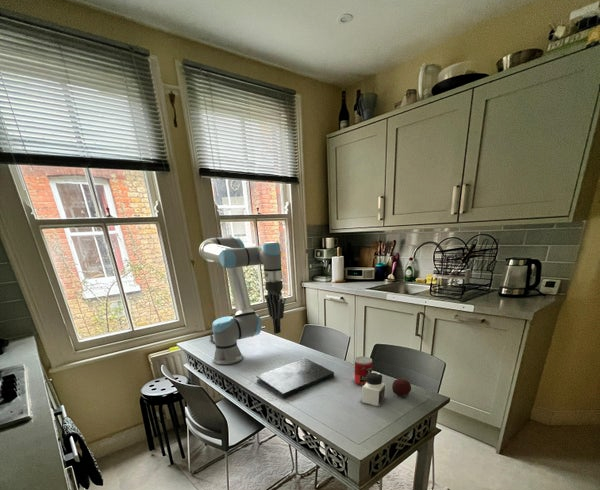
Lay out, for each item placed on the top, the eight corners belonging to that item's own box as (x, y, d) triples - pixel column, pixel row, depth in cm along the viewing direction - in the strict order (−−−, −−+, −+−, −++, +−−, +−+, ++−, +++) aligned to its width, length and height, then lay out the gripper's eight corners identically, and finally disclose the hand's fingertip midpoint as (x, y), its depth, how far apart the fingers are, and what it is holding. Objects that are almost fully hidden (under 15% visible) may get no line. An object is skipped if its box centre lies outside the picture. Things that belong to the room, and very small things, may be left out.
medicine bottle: (378, 406, 124) (380, 379, 120) (361, 402, 128) (362, 375, 123) (384, 398, 130) (386, 372, 125) (367, 394, 133) (369, 369, 129)
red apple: (389, 390, 136) (390, 376, 133) (407, 390, 135) (409, 375, 132) (393, 399, 129) (395, 384, 126) (413, 399, 129) (414, 383, 126)
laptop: (257, 383, 148) (256, 379, 148) (305, 364, 165) (305, 361, 165) (283, 399, 133) (283, 395, 133) (334, 377, 150) (334, 373, 149)
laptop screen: (256, 377, 147) (256, 375, 147) (305, 359, 164) (305, 357, 164) (283, 395, 133) (283, 393, 132) (334, 373, 149) (334, 372, 149)
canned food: (361, 387, 140) (362, 364, 135) (350, 380, 146) (351, 358, 142) (375, 383, 143) (376, 360, 138) (364, 376, 149) (364, 355, 145)
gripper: (258, 280, 138) (262, 331, 148) (275, 283, 129) (279, 337, 139) (272, 277, 143) (275, 327, 153) (289, 280, 133) (292, 333, 143)
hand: (277, 332), depth 146 cm, fingers closed
